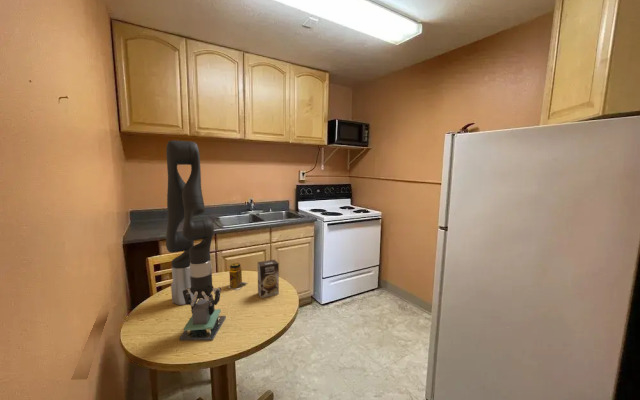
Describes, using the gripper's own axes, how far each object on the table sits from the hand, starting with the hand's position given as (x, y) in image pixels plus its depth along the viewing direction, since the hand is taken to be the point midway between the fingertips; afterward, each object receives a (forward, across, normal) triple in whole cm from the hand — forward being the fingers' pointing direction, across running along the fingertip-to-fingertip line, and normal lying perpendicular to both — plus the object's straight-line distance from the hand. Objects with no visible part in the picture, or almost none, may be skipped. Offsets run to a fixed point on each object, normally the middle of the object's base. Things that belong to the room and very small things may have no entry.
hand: (203, 313), depth 102 cm
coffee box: (+6, +20, +28) cm, 35 cm away
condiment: (+6, +2, +37) cm, 38 cm away
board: (+3, 0, 0) cm, 3 cm away
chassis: (+6, 0, 0) cm, 6 cm away
